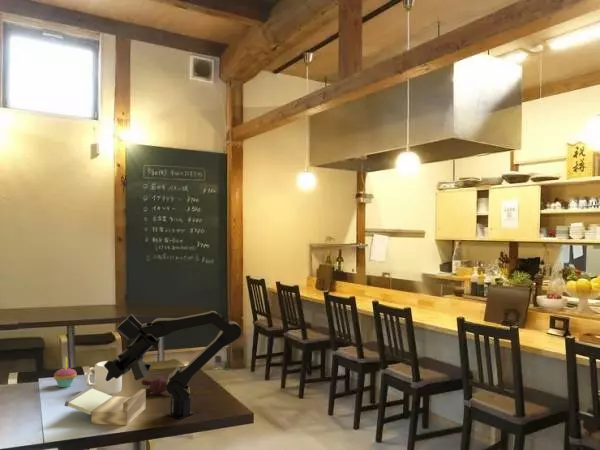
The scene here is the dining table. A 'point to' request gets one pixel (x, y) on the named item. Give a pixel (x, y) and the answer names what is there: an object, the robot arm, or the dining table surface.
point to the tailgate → (87, 400)
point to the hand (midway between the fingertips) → (106, 380)
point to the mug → (104, 380)
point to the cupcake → (65, 376)
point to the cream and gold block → (119, 409)
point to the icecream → (156, 385)
